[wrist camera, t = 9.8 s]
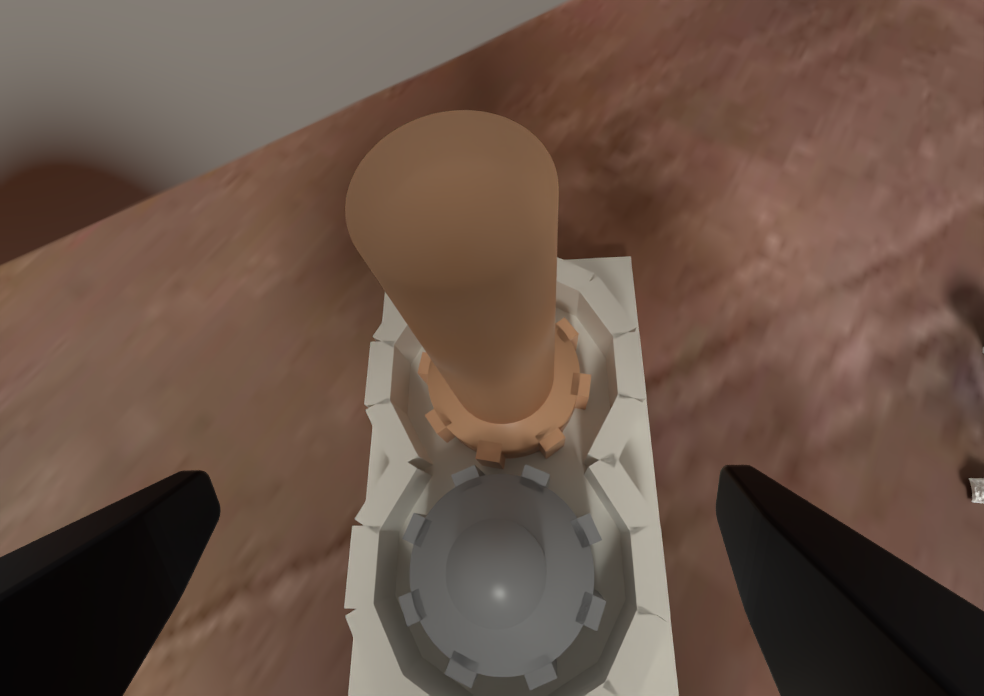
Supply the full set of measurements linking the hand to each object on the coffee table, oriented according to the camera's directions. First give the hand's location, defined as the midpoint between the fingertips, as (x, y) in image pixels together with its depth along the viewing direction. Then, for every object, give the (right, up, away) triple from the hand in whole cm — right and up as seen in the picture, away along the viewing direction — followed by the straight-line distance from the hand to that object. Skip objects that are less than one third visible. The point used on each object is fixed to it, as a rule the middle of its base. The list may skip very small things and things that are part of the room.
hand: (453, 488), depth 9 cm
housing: (+1, -3, +12) cm, 13 cm away
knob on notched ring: (+1, +1, +13) cm, 13 cm away
